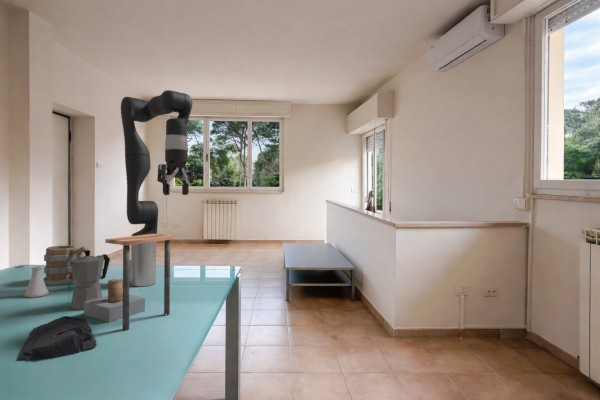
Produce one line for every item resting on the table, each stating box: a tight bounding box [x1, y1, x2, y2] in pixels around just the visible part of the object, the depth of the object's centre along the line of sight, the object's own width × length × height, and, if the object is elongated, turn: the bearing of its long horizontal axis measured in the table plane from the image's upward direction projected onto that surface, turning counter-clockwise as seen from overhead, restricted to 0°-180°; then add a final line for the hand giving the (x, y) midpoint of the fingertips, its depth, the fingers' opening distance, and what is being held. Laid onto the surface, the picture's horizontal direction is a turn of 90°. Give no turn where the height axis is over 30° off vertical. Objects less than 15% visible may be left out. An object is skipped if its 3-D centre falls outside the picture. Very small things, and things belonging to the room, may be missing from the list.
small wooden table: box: [104, 233, 175, 331], centre depth 107 cm, size 9×16×24 cm, turn 152°
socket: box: [83, 294, 146, 323], centre depth 113 cm, size 12×12×4 cm
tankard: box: [43, 244, 89, 286], centre depth 148 cm, size 20×13×15 cm, turn 68°
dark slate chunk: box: [17, 315, 98, 363], centre depth 92 cm, size 15×22×5 cm
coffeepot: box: [68, 249, 111, 311], centre depth 120 cm, size 15×9×18 cm, turn 162°
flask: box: [23, 265, 50, 298], centre depth 130 cm, size 7×7×10 cm
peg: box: [107, 278, 123, 304], centre depth 113 cm, size 4×4×10 cm
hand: (176, 194), depth 131 cm, fingers open, 8 cm apart
